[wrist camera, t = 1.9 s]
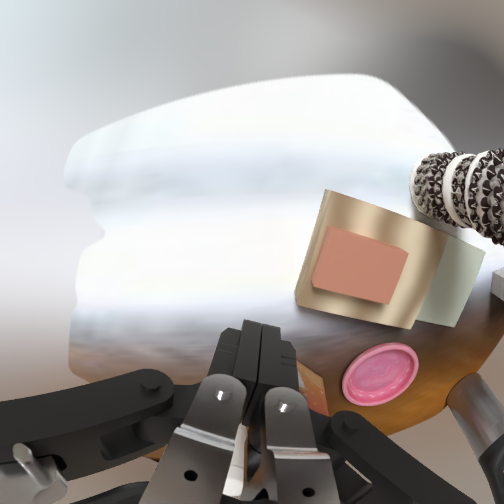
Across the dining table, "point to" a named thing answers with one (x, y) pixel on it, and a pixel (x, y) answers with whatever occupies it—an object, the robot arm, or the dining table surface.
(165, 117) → the dining table surface
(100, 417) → the robot arm
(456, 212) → the decorative candle
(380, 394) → the saucer
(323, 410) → the small box
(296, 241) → the dining table surface
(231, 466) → the foam cup
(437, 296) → the mat
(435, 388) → the dining table surface
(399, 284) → the panel
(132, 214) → the dining table surface
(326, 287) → the salmon pink brick
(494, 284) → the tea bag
